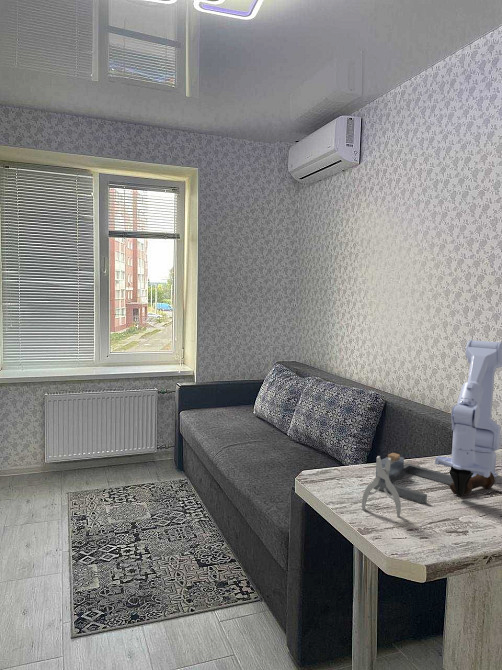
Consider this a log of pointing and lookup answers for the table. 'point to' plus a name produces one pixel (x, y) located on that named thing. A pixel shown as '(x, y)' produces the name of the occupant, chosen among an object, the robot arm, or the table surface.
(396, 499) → the pliers
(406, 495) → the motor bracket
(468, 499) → the table surface
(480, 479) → the bolt
